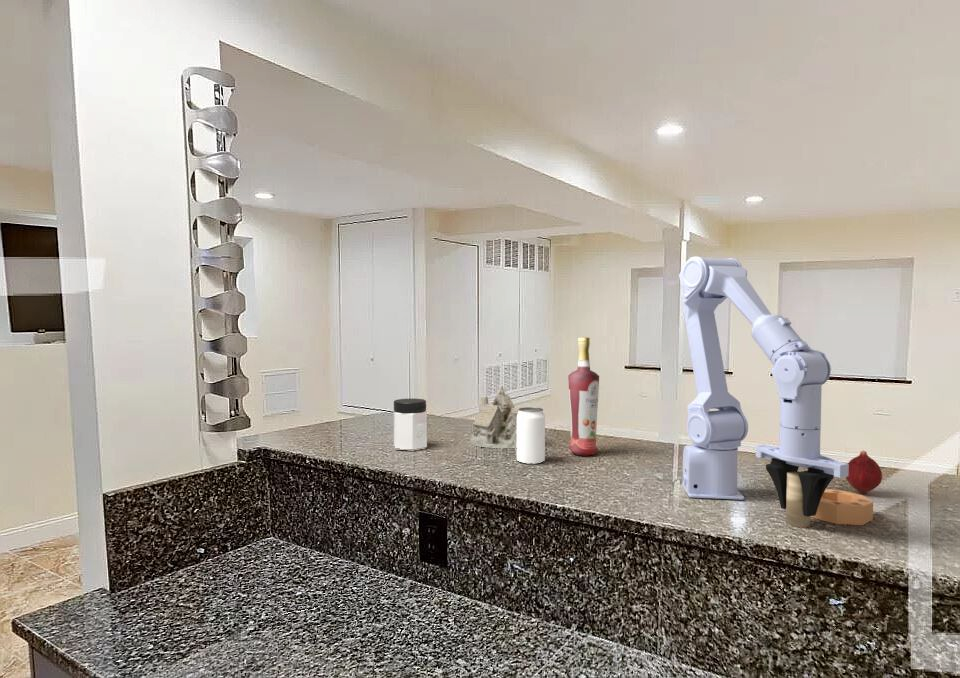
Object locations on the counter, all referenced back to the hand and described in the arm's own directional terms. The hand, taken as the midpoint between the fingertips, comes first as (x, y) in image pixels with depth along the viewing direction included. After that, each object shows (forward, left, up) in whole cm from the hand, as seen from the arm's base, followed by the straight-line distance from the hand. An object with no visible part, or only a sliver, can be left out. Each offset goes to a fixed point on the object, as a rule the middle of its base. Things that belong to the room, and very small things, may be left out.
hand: (798, 511), depth 94 cm
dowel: (0, 0, -2) cm, 2 cm away
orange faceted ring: (+8, +6, -2) cm, 10 cm away
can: (-45, +34, -2) cm, 56 cm away
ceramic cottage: (-53, +51, -2) cm, 74 cm away
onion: (+18, +19, -2) cm, 26 cm away
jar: (-76, +43, -2) cm, 87 cm away
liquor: (-33, +43, -2) cm, 54 cm away
